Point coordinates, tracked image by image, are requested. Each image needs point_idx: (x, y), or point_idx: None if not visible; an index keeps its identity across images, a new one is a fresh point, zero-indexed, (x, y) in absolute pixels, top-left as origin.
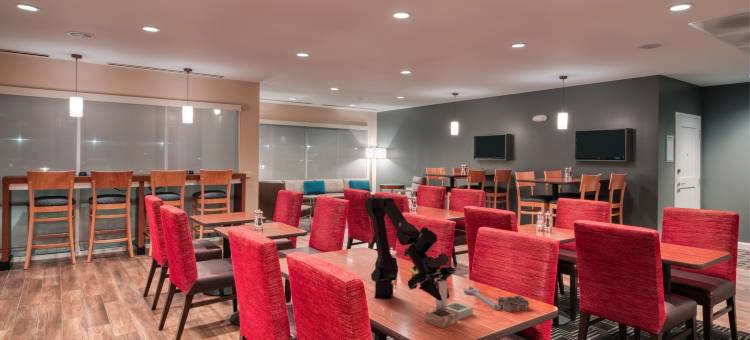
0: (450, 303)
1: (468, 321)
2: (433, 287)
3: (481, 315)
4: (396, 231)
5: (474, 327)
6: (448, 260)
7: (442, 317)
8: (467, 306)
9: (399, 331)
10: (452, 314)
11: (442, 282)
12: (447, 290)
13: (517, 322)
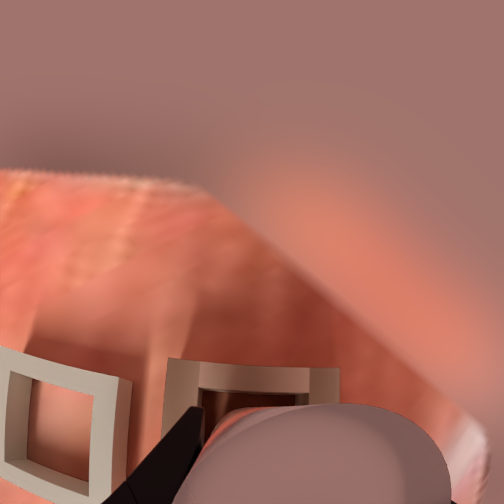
0: (27, 485)
1: (120, 326)
2: (451, 501)
3: (14, 313)
4: None
5: (178, 262)
6: None
7: (316, 385)
8: (4, 377)
9: (479, 454)
10: (211, 373)
11: (423, 434)
12: (169, 452)
13: (30, 176)
